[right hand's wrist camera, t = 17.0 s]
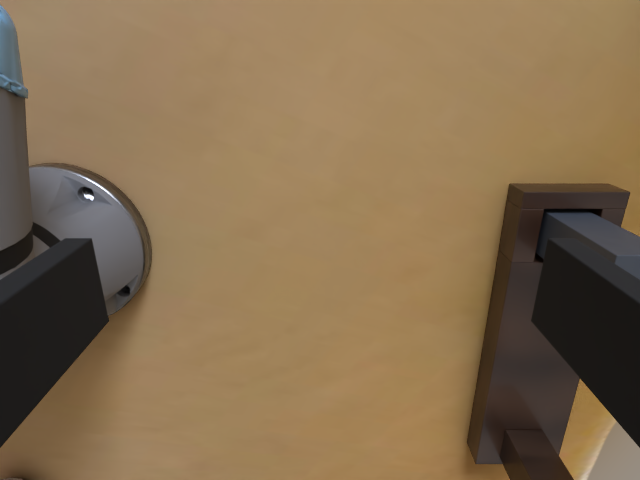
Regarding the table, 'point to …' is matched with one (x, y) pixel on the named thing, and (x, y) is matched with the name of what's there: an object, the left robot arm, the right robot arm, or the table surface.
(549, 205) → the walnut plank
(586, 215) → the grey peg
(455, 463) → the table surface
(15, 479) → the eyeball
